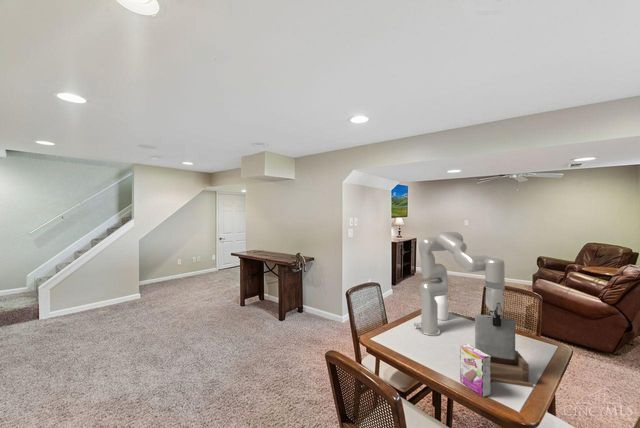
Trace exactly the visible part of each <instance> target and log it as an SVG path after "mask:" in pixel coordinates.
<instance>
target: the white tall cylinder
mask: <svg viewBox="0 0 640 428" xmlns="http://www.w3.org/2000/svg"><path fill="white" fill-rule="evenodd" d="M434 298H435V300H436V302H437V306H438V321H448V319H449V301H448V298H447V294H446V295H443V296H436V297H434Z"/></svg>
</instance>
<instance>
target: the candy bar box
mask: <svg viewBox="0 0 640 428" xmlns="http://www.w3.org/2000/svg"><path fill="white" fill-rule="evenodd" d="M459 348H460V350H459V351H460V355H459V358H460V359H459V360H460V363H459V365H460V366H459V367H460V368H459V371H460V372H459V373H460V375H459V376H460V377H459V378H460V379H459V380H460V383H462V384H463V385H465V386H466V387H467V388H469V389H470V390H472V391H473V392H475V393H476V394H478V395H479V396H480V397H482V398H485V397H487V396H491V394H492V393H491V387H492V386H491V383H492V381H491V356H489V355H487V354H485V353H484V352H482V351H480V350H478V349H476V348H475V346H473V345H471V344H468V343H466V344H462V345H460V347H459Z"/></svg>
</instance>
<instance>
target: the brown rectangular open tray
mask: <svg viewBox="0 0 640 428" xmlns="http://www.w3.org/2000/svg"><path fill="white" fill-rule="evenodd" d="M529 376H530V375H529V363H528V362H527V361H526V360H525V358H524V357H523V355H521V354H520V352H519V351H518V350H515V360H512V359H504V358H498V357H493V356H491V382H497V383H502V384H509V385H515V386H521V387H527V388H534V385H533V383H532V382H531V381H530V379H529Z"/></svg>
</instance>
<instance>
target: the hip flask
mask: <svg viewBox="0 0 640 428" xmlns="http://www.w3.org/2000/svg"><path fill="white" fill-rule="evenodd" d="M496 313H497V312H495V314H496ZM490 314H491V316H489V314H488V315H487V314H476V313H475V314H474V336H475V337H474V340H475V342H474V344H475V346H474V348H476V349H478V350H480V351H482V352H484V353H485V354H487V355H489V356H493V357H498V358H504V359H512V360H515V351H516V320H515V319H514V318H513V319H512V318H505V317H501V327H498V326H493V317H494V316H493V312H490Z"/></svg>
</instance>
